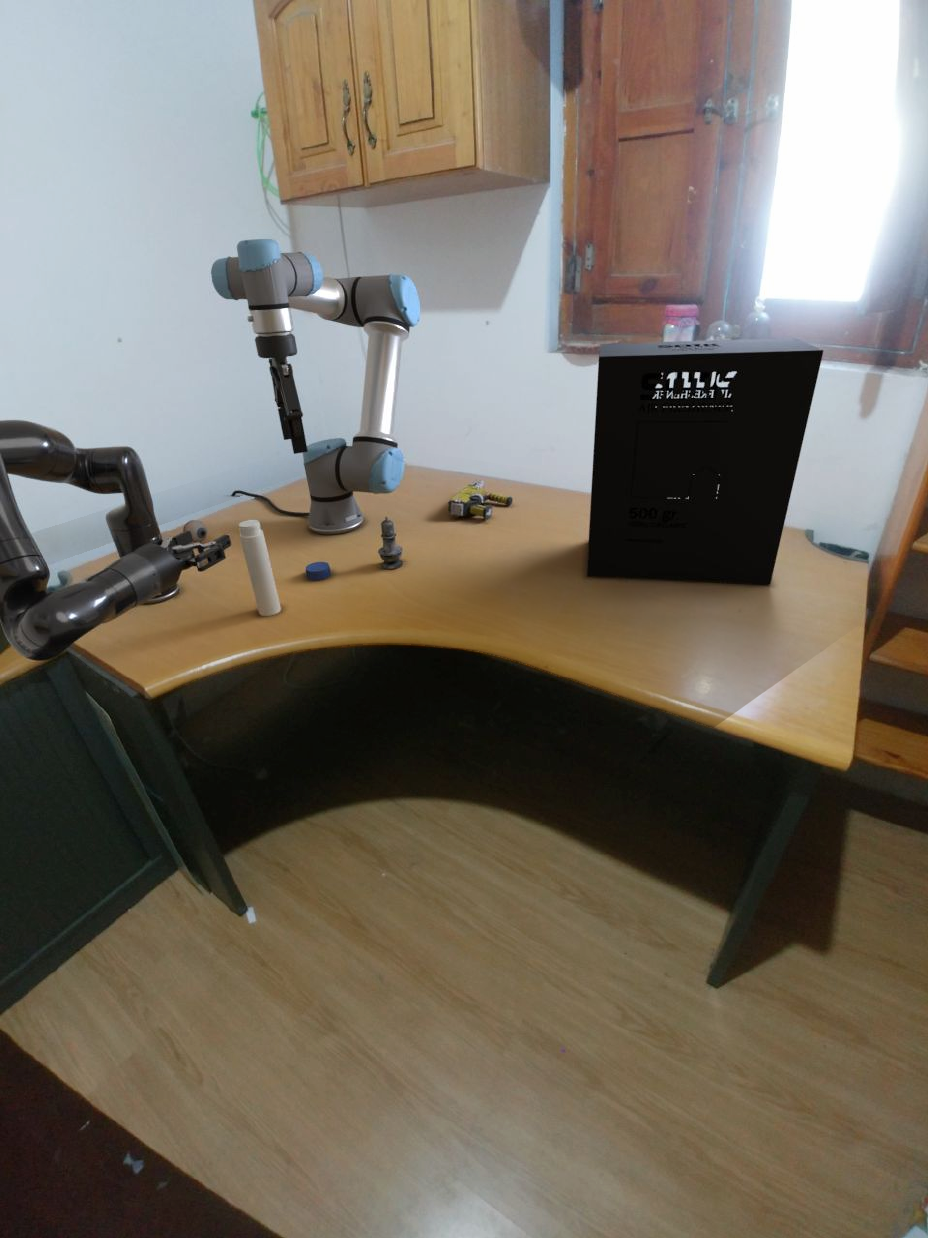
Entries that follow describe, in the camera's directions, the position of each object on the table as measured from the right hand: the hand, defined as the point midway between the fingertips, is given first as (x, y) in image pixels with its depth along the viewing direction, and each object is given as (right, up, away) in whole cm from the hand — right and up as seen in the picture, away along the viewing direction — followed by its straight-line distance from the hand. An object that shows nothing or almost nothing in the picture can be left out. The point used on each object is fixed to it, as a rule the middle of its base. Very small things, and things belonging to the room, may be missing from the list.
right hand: (295, 445), depth 126 cm
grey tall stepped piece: (+18, -23, +18) cm, 35 cm away
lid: (+1, -25, +14) cm, 28 cm away
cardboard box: (+83, -23, +12) cm, 87 cm away
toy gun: (+42, -4, +50) cm, 65 cm away
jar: (-6, -35, +1) cm, 35 cm away
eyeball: (-37, -16, +37) cm, 54 cm away
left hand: (-10, -22, -18) cm, 30 cm away
